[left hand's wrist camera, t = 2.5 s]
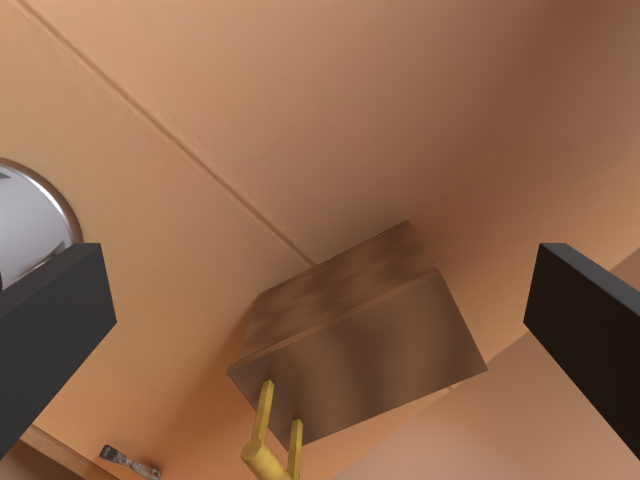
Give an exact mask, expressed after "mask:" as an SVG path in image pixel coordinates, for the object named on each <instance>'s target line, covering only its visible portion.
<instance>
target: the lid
mask: <svg viewBox="0 0 640 480" xmlns="http://www.w3.org/2000/svg"><path fill="white" fill-rule="evenodd" d="M487 370H488V368H487V366H486V364H485V362H484V360H483V358H482V356H481V354H480V352H479V350H478V348H477V346H476V344H475V341H474V339H473V337H472V335H471V333H470V331H469V329H468V327H467V325H466V323H465V321H464V319H463V317H462V315H461V313H460V311H459V309H458V307H457V305H456V303H455V301H454V299H453V297H452V295H451V293H450V291H449V289H448V286H447V284H446V282H445V280H444V278H443V276H442V274H441V273H440V271H439V269H438V268H437V269H435V270H433V271H430V272H428V273H426V274H424V275H422V276H420V277H418V278H415V279H413V280H411V281H409V282H407V283H405V284H403V285H400V286H398V287H396V288H394V289H392V290H390V291H388V292H385V293H383V294H381V295H379V296H377V297H375V298H373V299H370V300H368V301H366V302H364V303H362V304H360V305H358V306H355V307H353V308H351V309H349V310H347V311H345V312H343V313H340V314H338V315H336V316H334V317H332V318H330V319H328V320H325V321H323V322H321V323H319V324H317V325H315V326H313V327H310V328H308V329H306V330H304V331H302V332H300V333H298V334H295V335H293V336H291V337H289V338H287V339H285V340H283V341H280V342H278V343H276V344H274V345H272V346H270V347H268V348H265V349H263V350H261V351H259V352H257V353H255V354H253V355H250V356H248V357H246V358H244V359H242V360H240V361H238V362H236V363H233V364H231V365H229V368H228V371H227V374H228V375H229V377H230V378H231V379H232V380H233V382H234V383H235V384H236V386H237V387H238V388H239V390H240V391H241V392H242V393H243V395H244V396H245V397H246V399H247V400H248V401H249V402H250V404H251V405H252V406H253V408H254V409H255V410H256V412H257V414H256V419H255V424H254V429H253V434H252V438H251V441H250V442H249V443H248V444H247V445H246V446H245V447H244V449H243V450H242V453H241V458H242V460H243V461H244V462H245V464H246V465H247V466H248V467H249V468H250V470H251V471H252V472H253V473H254V474H255V476H256V477H257V478H258V479H259V480H299V477H300V461H301V446H303V445H306V444H308V443H311V442H313V441H316V440H318V439H320V438H323V437H325V436H328V435H330V434H333V433H335V432H338V431H340V430H343V429H345V428H347V427H350V426H352V425H355V424H357V423H360V422H362V421H365V420H367V419H369V418H372V417H374V416H377V415H379V414H382V413H384V412H387V411H389V410H392V409H394V408H396V407H399V406H401V405H404V404H406V403H409V402H411V401H414V400H416V399H419V398H421V397H423V396H426V395H428V394H431V393H433V392H436V391H438V390H441V389H443V388H445V387H448V386H450V385H453V384H455V383H458V382H460V381H463V380H465V379H468V378H470V377H472V376H475V375H477V374H480V373H482V372H485V371H487ZM267 427H269V428H270V430H271V431H272V432H273V434H274V435H275V436H276V438H277V439H278V440H279V441H280V443H281V444H282V445H283V447H284V448H285V449H286V450H287V452H289V456H288V467H287V472H286V470H285V469H284V468H283V466H282V465H281V464H280V463H279V461H278V460H277V459H276V458H275V456H274V455H273V454H272V453H271V451H270V450H269V449H268V447H267V446H266V445H265V439H266V433H267Z"/></svg>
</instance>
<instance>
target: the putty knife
mask: <svg viewBox="0 0 640 480" xmlns="http://www.w3.org/2000/svg"><path fill="white" fill-rule="evenodd" d="M100 457H101V458H103V459H106V460H109V461H112V462H115V463H118V464H122V465H126V466H130V468H131V469H133V470H134V471H135V473H138V474H139V475H141V476H142V477H144V478H146V479H148V480H160V479H161V477H162V473H161V471H160V470H158V469H156V468H154V467H151V466H148V465H145V464H141V463H137V462H132V461H131V460H130V459H129V458H127V457H126V456H125V455H123V454H122V453H120V452H119V451H117V450H116V449H114V448H112V447H110V446H109V445H105V446H104V448H103V449H102V451H101V453H100ZM153 474H154V475H153Z"/></svg>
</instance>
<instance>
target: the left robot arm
mask: <svg viewBox="0 0 640 480" xmlns="http://www.w3.org/2000/svg"><path fill="white" fill-rule="evenodd" d="M116 323H117V320H116V316H115V311H114V306H113V301H112V297H111V292H110V287H109V282H108V278H107V273H106V268H105V263H104V258H103V254H102V249H101V244H100V243H83V236H82V232H81V228H80V225H79V222H78V220H77V218H76V216H75V214H74V212H73V210H72V208H71V207H70V205H69V204H68V202H67V201H66V199H65V198H64V197H63V196H62V195H61V193H60V192H59V191H58V190H57V189H56V188H55V187H54V186H53V185H52V184H51V183H50V182H48V181H47V180H46V179H45V178H43V177H42V176H41V175H39V174H38V173H36V172H34V171H33V170H31V169H29V168H27V167H25V166H23V165H21V164H19V163H16V162H14V161H11V160H8V159H4V158H0V460H1V459H2V458H3V457H4V456H5V454H6V453H7V452H8V451H9V450H10V449H11V447H12V446H13V445H14V444H15V443H16V441H17V440H18V439H19V438H20V437H21V436H22V434H23V433H24V432H25V431H26V430H27V428H28V427H29V426H30V425H31V424H32V422H33V421H34V420H35V419H36V418H37V417H38V415H39V414H40V413H41V412H42V411H43V409H44V408H45V407H46V406H47V405H48V404H49V402H50V401H51V400H52V399H53V398H54V396H55V395H56V394H57V393H58V392H59V390H60V389H61V388H62V387H63V386H64V385H65V383H66V382H67V381H68V380H69V379H70V377H71V376H72V375H73V374H74V373H75V372H76V370H77V369H78V368H79V367H80V366H81V364H82V363H83V362H84V361H85V360H86V358H87V357H88V356H89V355H90V354H91V353H92V351H93V350H94V349H95V348H96V347H97V345H98V344H99V343H100V342H101V341H102V340H103V338H104V337H105V336H106V335H107V334H108V332H109V331H110V330H111V329H112V328H113V327H114V325H115V324H116ZM523 323H524V324H525V325H526V327H527V328H528V329H529V330H530V331H531V332H532V334H533V335H534V336H535V337H536V338H537V340H538V341H539V342H540V343H541V344H542V345H543V347H544V348H545V349H546V350H547V351H548V353H549V354H550V355H551V356H552V357H553V358H554V360H555V361H556V362H557V363H558V364H559V365H560V367H561V368H562V369H563V370H564V371H565V373H566V374H567V375H568V376H569V377H570V379H571V380H572V381H573V382H574V383H575V385H576V386H577V387H578V388H579V389H580V390H581V392H582V393H583V394H584V395H585V396H586V398H587V399H588V400H589V401H590V402H591V404H592V405H593V406H594V407H595V408H596V409H597V411H598V412H599V413H600V414H601V415H602V417H603V418H604V419H605V420H606V421H607V422H608V424H609V425H610V426H611V427H612V428H613V430H614V431H615V432H616V433H617V434H618V436H619V437H620V438H621V439H622V440H623V441H624V443H625V444H626V445H627V446H628V447H629V449H630V450H631V451H632V452H633V453H634V454H635V456H636V457H637V458H638V459H639V460H640V292H639V291H637V290H636V289H634V288H633V287H631V286H630V285H628V284H627V283H625V282H624V281H622V280H621V279H619V278H618V277H616V276H615V275H613V274H612V273H610V272H608V271H607V270H605V269H604V268H602V267H601V266H599V265H598V264H596V263H595V262H593V261H592V260H590V259H589V258H587V257H586V256H584V255H583V254H581V253H580V252H578V251H577V250H575V249H573V248H572V247H570V246H569V245H567V244H566V243H540V244H539V249H538V254H537V258H536V263H535V268H534V273H533V278H532V282H531V287H530V292H529V297H528V301H527V306H526V311H525V316H524V320H523Z"/></svg>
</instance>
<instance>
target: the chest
mask: <svg viewBox="0 0 640 480" xmlns="http://www.w3.org/2000/svg"><path fill="white" fill-rule="evenodd" d="M435 269H437V266H436V264H435V263H434V261H433V259H432V258H431V256H430V255H429V253H428V251H427V250H426V248H425V246H424V245H423V243H422V241H421V240H420V238H419V236H418V235H417V233H416V232H415V230H414V228H413V227H412V225H411V223H410V222H409V220H408V221H406V222H404V223H402V224H400V225H398V226H396V227H394V228H392V229H390V230H388V231H386V232H384V233H382V234H380V235H377V236H375V237H373V238H371V239H369V240H367V241H365V242H363V243H361V244H359V245H357V246H355V247H353V248H351V249H349V250H347V251H345V252H343V253H341V254H339V255H337V256H335V257H333V258H331V259H329V260H327V261H325V262H323V263H321V264H319V265H317V266H315V267H313V268H311V269H309V270H307V271H305V272H303V273H301V274H299V275H297V276H295V277H293V278H291V279H289V280H287V281H285V282H283V283H281V284H279V285H277V286H275V287H273V288H271V289H269V290H267V291H265V292H263V293H261V294H259V295H258V298H257V301H256V304H255V307H254V311H253V314H252V317H251V320H250V323H249V327H248V330H247V333H246V336H245V339H244V343H243V346H242V349H241V352H240V356H239V359H238V361H240V360H242V359H244V358H246V357H248V356H250V355H253V354H255V353H257V352H259V351H261V350H263V349H265V348H268V347H270V346H272V345H274V344H276V343H278V342H280V341H283V340H285V339H287V338H289V337H291V336H293V335H295V334H298V333H300V332H302V331H304V330H306V329H308V328H310V327H313V326H315V325H317V324H319V323H321V322H323V321H325V320H328V319H330V318H332V317H334V316H336V315H338V314H340V313H343V312H345V311H347V310H349V309H351V308H353V307H355V306H358V305H360V304H362V303H364V302H366V301H368V300H370V299H373V298H375V297H377V296H379V295H381V294H383V293H385V292H388V291H390V290H392V289H394V288H396V287H398V286H400V285H403V284H405V283H407V282H409V281H411V280H413V279H415V278H418V277H420V276H422V275H424V274H426V273H428V272H430V271H433V270H435Z"/></svg>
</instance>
